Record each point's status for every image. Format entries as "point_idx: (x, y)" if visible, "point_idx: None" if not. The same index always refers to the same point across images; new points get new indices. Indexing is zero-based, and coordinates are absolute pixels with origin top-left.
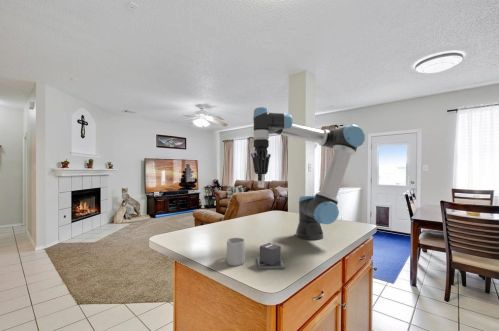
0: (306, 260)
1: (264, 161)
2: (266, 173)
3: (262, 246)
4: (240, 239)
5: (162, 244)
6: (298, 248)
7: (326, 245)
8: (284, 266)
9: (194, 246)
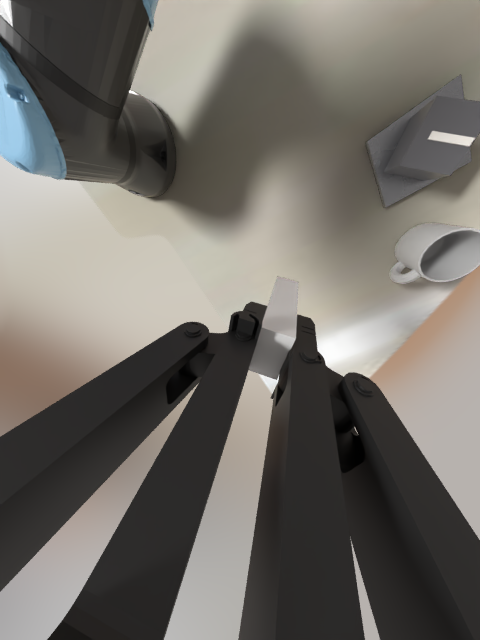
0: (358, 39)
1: (152, 570)
2: (238, 313)
3: (456, 162)
4: (421, 253)
5: None
6: (259, 131)
7: (187, 40)
8: (460, 76)
9: (338, 357)
